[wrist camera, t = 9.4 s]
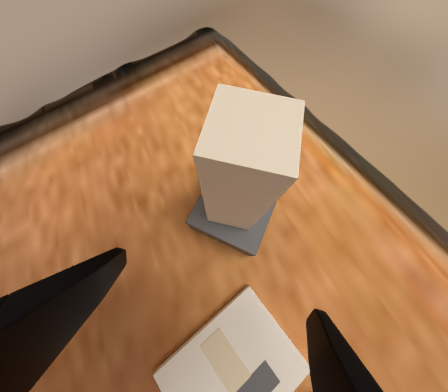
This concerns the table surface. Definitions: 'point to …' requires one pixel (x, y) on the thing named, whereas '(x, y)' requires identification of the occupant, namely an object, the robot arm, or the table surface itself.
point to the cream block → (247, 153)
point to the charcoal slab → (230, 229)
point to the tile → (235, 354)
